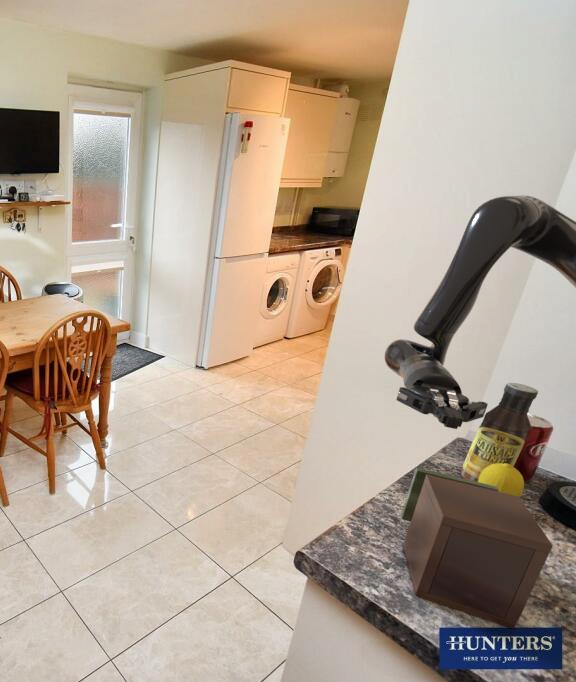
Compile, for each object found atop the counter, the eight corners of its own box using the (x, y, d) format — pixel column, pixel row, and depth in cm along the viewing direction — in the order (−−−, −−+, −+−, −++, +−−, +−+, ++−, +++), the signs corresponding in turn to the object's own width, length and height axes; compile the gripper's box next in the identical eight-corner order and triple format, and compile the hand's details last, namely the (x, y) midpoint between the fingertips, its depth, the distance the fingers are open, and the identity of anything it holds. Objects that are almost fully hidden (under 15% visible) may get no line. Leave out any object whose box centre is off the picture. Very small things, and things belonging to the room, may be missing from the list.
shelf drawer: (398, 512, 73) (414, 462, 70) (473, 532, 69) (493, 481, 66) (411, 557, 64) (429, 502, 61) (498, 584, 60) (523, 527, 57)
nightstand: (402, 546, 68) (426, 474, 64) (487, 572, 63) (519, 496, 59) (415, 595, 59) (443, 515, 55) (514, 629, 55) (553, 545, 51)
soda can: (524, 469, 88) (546, 415, 84) (537, 489, 82) (562, 432, 78) (476, 458, 92) (495, 406, 88) (486, 476, 86) (506, 421, 82)
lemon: (511, 518, 74) (528, 477, 72) (469, 501, 78) (483, 462, 76) (516, 504, 78) (533, 465, 75) (475, 489, 82) (489, 451, 79)
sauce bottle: (456, 480, 84) (491, 384, 78) (462, 468, 88) (495, 375, 82) (503, 497, 80) (544, 397, 73) (507, 483, 84) (545, 387, 77)
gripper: (393, 359, 87) (409, 392, 73) (480, 373, 82) (516, 412, 67) (383, 394, 90) (397, 432, 75) (467, 410, 84) (499, 455, 69)
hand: (453, 422), depth 71 cm, fingers closed
